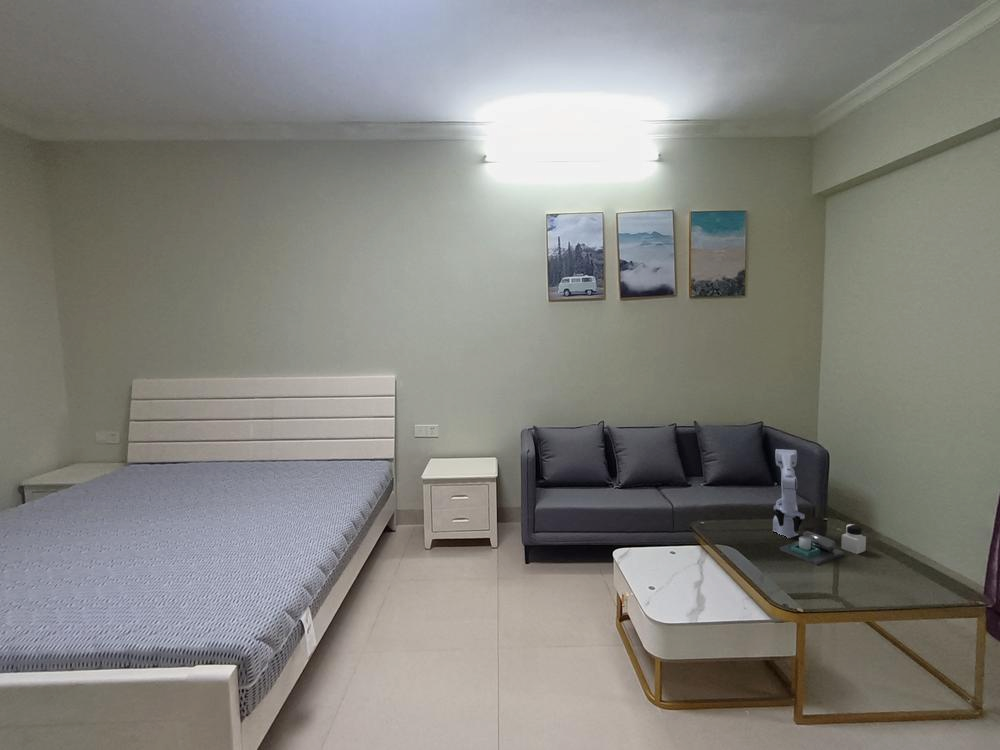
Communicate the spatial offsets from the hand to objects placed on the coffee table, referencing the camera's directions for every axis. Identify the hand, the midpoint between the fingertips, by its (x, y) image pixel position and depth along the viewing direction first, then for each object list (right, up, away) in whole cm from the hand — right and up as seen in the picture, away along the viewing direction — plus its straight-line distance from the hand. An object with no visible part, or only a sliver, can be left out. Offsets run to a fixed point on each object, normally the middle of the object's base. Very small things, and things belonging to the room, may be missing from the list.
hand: (788, 528), depth 244 cm
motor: (+7, -10, -6) cm, 14 cm away
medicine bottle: (+28, -9, -6) cm, 30 cm away
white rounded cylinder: (+3, -9, -8) cm, 12 cm away
